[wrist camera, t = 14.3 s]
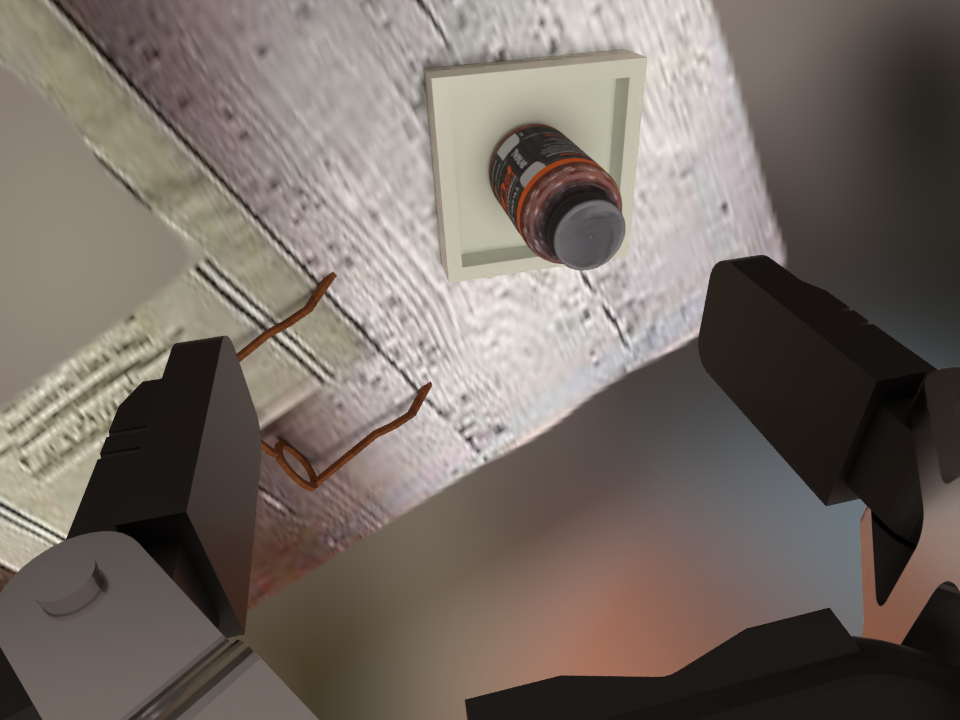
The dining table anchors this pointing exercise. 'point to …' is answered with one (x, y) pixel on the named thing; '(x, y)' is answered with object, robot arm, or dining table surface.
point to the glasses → (280, 445)
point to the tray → (505, 107)
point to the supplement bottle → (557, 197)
